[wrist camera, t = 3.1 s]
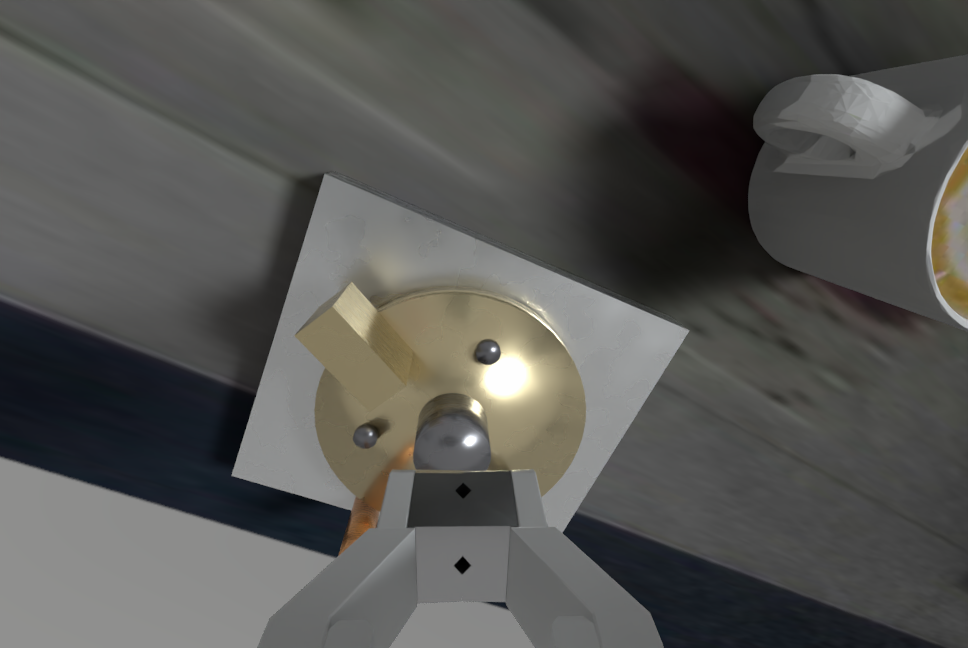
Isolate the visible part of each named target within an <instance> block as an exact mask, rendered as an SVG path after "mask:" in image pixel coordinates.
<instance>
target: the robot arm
mask: <svg viewBox="0 0 968 648" xmlns="http://www.w3.org/2000/svg"><path fill="white" fill-rule="evenodd" d="M457 601H458V602H459V601H469V602H471V601H472V602H506V605H507V607H508V608H509V610H510V611H511V613H512V614H513V616H514V617H515V619H516V620H517V622H518V623H519V625H520V626H521V627H522V629H523V630H524V632H525V634H526V635H527V636H528V638H529V639H530V641H531V642H532V644H533V645H534V647H535V648H664V646H663V644H662V641H661V639H660V636H659V634H658V632H657V629H656V627H655V624H654V622H653V619H652V617H651V614H650V613H649V612H648V611H647V610H646V609H645V608H644V607H643V606H642V605H641V604H640V603H638V602H637V601H636V600H635V599H634V598H633V597H632V596H631V595H630V594H629V593H627V592H626V591H625V590H624V589H623V588H622V587H621V586H620V585H619V584H618V583H616V582H615V581H614V580H613V579H612V578H611V577H610V576H609V575H608V574H607V573H605V572H604V571H603V570H602V569H601V568H600V567H599V566H598V565H597V564H596V563H594V562H593V561H592V560H591V559H590V558H589V557H588V556H587V555H586V554H585V553H583V552H582V551H581V550H580V549H579V548H578V547H577V546H576V545H575V544H574V543H572V542H571V541H570V540H569V539H568V538H567V537H566V536H565V535H564V534H563V533H561V532H560V531H559V530H558V529H557V528H556V527H548V524H547V520H546V515H545V511H544V507H543V502H542V498H541V494H540V489H539V485H538V480H537V476H536V472H535V471H534V470H533V469H519V470H510V471H461V470H391V472H390V474H389V477H388V481H387V486H386V490H385V494H384V499H383V503H382V507H381V512H380V516H379V520H378V525H377V528H369V529H368V530H367V531H366V532H365V533H364V534H362V535H361V536H360V537H359V538H358V539H357V540H356V541H355V542H354V543H353V544H351V545H350V546H349V547H348V548H347V549H346V550H345V551H344V552H343V553H341V554H340V555H339V556H338V557H337V558H336V559H335V560H334V561H333V562H332V563H330V564H329V565H328V566H327V567H326V568H325V569H324V570H323V571H322V572H320V573H319V574H318V575H317V576H316V577H315V578H314V579H313V580H312V581H311V582H309V583H308V584H307V585H306V586H305V587H304V588H303V589H302V590H301V591H299V592H298V593H297V594H296V595H295V596H294V597H293V598H292V599H291V600H290V601H288V602H287V603H286V604H285V605H284V606H283V607H282V608H281V609H280V610H278V611H277V612H276V613H275V614H274V615H273V616H272V617H271V618H270V619H269V621H268V624H267V626H266V628H265V630H264V633H263V635H262V638H261V640H260V643H259V645H258V647H257V648H389V647H390V646H391V644H392V643H393V641H394V640H395V638H396V637H397V635H398V634H399V632H400V631H401V629H402V628H403V627H404V625H405V624H406V622H407V621H408V619H409V618H410V616H411V614H412V613H413V612H414V610H415V609H416V607H417V603H437V602H457Z"/></svg>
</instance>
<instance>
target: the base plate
mask: <svg viewBox="0 0 968 648" xmlns="http://www.w3.org/2000/svg"><path fill="white" fill-rule="evenodd" d="M351 282H353V284H354V285H355V286H356V287H357V288H358V289H359V290H360V291H361V293H362V294H363V295H364V296H365V297H366V298H367V299H368V301H369V302H370V303H371V304H372V305H373V306H374V307H375V308H376V307H377V306H379V305H380V304H382V303H384V302H386V301H388V300H390V299H392V298H394V297H397V296H399V295H402V294H405V293H408V292H411V291H414V290H418V289H424V288H429V287H435V286H467V287H475V288H480V289H485V290H490V291H493V292H496V293H498V294H501V295H504V296H507V297H509V298H511V299H513V300H515V301H517V302H519V303H521V304H523V305H525V306H526V307H528V308H529V309H531V310H532V311H534V312H535V313H536V314H538V315H539V316H540V317H541V318H542V319H543V320H544V321H545V322H547V323H548V324H549V325H550V326H551V328H552V329H553V330H554V331H555V332H556V334H557V335H558V336H559V337H560V339H561V340H562V342H563V344H564V345H565V347H566V348H567V350H568V352H569V354H570V355H571V357H572V359H573V361H574V363H575V365H576V368H577V370H578V372H579V374H580V377H581V380H582V384H583V388H584V392H585V401H586V422H585V427H584V433H583V437H582V440H581V443H580V446H579V449H578V451H577V453H576V455H575V457H574V459H573V461H572V463H571V465H570V466H569V468H568V469H567V471H566V472H565V473H564V475H563V476H562V478H561V479H560V480H559V481H558V482H557V483H556V484H555V485H554V486H553V488H551V489H550V490H549V491H548V492H547V493H546V494H545V495H543V496H542V497H541V498H542V502H543V507H544V511H545V515H546V520H547V524H548V527H556V528H557V529H558V530H559V531H560V532H561V533H562V532H563V531H564V529H565V528H566V526H567V524H568V523H569V521H570V520H571V518H572V516H573V515H574V513H575V512H576V510H577V509H578V507H579V505H580V504H581V502H582V501H583V499H584V497H585V496H586V494H587V493H588V491H589V489H590V488H591V486H592V485H593V483H594V481H595V480H596V478H597V477H598V475H599V474H600V472H601V470H602V469H603V467H604V466H605V464H606V462H607V461H608V459H609V458H610V456H611V454H612V453H613V451H614V450H615V448H616V447H617V445H618V443H619V442H620V440H621V439H622V437H623V435H624V434H625V432H626V431H627V429H628V427H629V426H630V424H631V423H632V421H633V419H634V418H635V416H636V415H637V413H638V412H639V410H640V408H641V407H642V405H643V404H644V402H645V400H646V399H647V397H648V396H649V394H650V392H651V391H652V389H653V388H654V386H655V384H656V383H657V381H658V380H659V378H660V377H661V375H662V373H663V372H664V370H665V369H666V367H667V365H668V364H669V362H670V361H671V359H672V357H673V356H674V354H675V353H676V351H677V350H678V348H679V346H680V345H681V343H682V342H683V340H684V338H685V337H686V335H687V334H688V332H689V330H688V329H687V328H686V327H684V326H683V325H682V324H681V323H679V322H678V321H677V320H676V319H674V318H673V317H671V316H668V315H666V314H664V313H661V312H659V311H657V310H654V309H652V308H650V307H647V306H645V305H643V304H640V303H638V302H636V301H634V300H631V299H629V298H627V297H624V296H622V295H620V294H617V293H615V292H613V291H610V290H608V289H606V288H603V287H601V286H599V285H597V284H594V283H592V282H590V281H587V280H585V279H583V278H580V277H578V276H576V275H573V274H571V273H569V272H566V271H564V270H562V269H560V268H557V267H555V266H553V265H550V264H548V263H546V262H543V261H541V260H539V259H536V258H534V257H532V256H530V255H527V254H525V253H523V252H520V251H518V250H516V249H513V248H511V247H509V246H506V245H504V244H502V243H499V242H497V241H495V240H493V239H490V238H488V237H486V236H483V235H481V234H479V233H476V232H474V231H472V230H469V229H467V228H465V227H462V226H460V225H458V224H456V223H453V222H451V221H449V220H446V219H444V218H442V217H439V216H437V215H435V214H432V213H430V212H428V211H425V210H423V209H421V208H419V207H416V206H414V205H412V204H409V203H407V202H405V201H402V200H400V199H398V198H395V197H393V196H391V195H389V194H386V193H384V192H382V191H379V190H377V189H375V188H372V187H370V186H368V185H365V184H363V183H361V182H358V181H356V180H354V179H352V178H349V177H347V176H345V175H342V174H340V173H338V172H331V173H326V174H324V177H323V181H322V184H321V187H320V190H319V194H318V197H317V200H316V203H315V207H314V210H313V213H312V216H311V220H310V223H309V226H308V229H307V233H306V236H305V239H304V242H303V246H302V249H301V252H300V255H299V258H298V262H297V265H296V268H295V271H294V275H293V278H292V281H291V284H290V288H289V291H288V294H287V297H286V301H285V304H284V307H283V310H282V314H281V317H280V320H279V323H278V327H277V330H276V333H275V336H274V340H273V343H272V346H271V349H270V352H269V356H268V359H267V362H266V365H265V369H264V372H263V375H262V378H261V382H260V385H259V388H258V391H257V395H256V398H255V401H254V404H253V408H252V411H251V414H250V417H249V421H248V424H247V427H246V430H245V433H244V437H243V440H242V443H241V446H240V450H239V453H238V456H237V459H236V463H235V466H234V469H233V472H232V476H234V477H238V478H241V479H245V480H248V481H252V482H255V483H259V484H262V485H265V486H269V487H272V488H276V489H279V490H283V491H286V492H290V493H293V494H297V495H300V496H303V497H307V498H310V499H314V500H317V501H321V502H324V503H328V504H331V505H334V506H338V507H341V508H345V509H348V510H352V511H351V514H350V518H349V521H348V525H347V528H346V532H345V535H344V539H343V542H342V545H341V549H340V552H339V555H340V554H341V553H343V552H344V551H345V550H346V549H347V548H348V547H349V546H350V545H351V544H353V543H354V542H355V541H356V540H357V539H358V538H359V537H360V536H361V535H362V534H364V533H365V532H366V531H367V530H368V529H369V528H376V527H377V522H378V518H379V516H380V512H379V511H377V510H375V509H374V508H372V507H371V506H369V505H367V504H366V503H364V502H363V501H361V500H360V499H359V498H358V497H357V496H355V495H354V494H353V493H352V492H350V491H349V490H348V488H347V487H346V486H345V485H344V484H343V483H342V482H341V481H340V480H339V479H338V477H337V476H336V475H335V473H334V472H333V470H332V469H331V468H330V466H329V464H328V462H327V460H326V458H325V457H324V455H323V452H322V449H321V446H320V444H319V441H318V437H317V432H316V427H315V412H314V409H315V399H316V392H317V389H318V385H319V381H320V378H321V376H322V373H323V371H324V369H325V367H324V366H323V365H322V364H321V363H320V362H319V361H318V360H317V359H316V358H315V357H314V355H313V354H312V353H311V352H310V351H309V350H308V349H307V348H306V347H305V346H304V345H303V344H302V343H301V342H300V341H299V340H298V339H297V338H296V337H295V336H294V335H295V334H296V333H297V332H298V331H299V330H300V328H301V327H302V326H303V325H304V324H305V323H306V321H307V320H308V319H309V318H310V317H311V316H312V314H313V313H314V312H315V311H316V310H317V309H318V307H319V306H321V305H322V304H323V303H325V302H326V301H327V300H329V299H330V298H331V297H332V296H334V295H335V294H336V293H338V292H339V291H340V290H342V289H343V288H344V287H345V286H347V285H348V284H349V283H351Z"/></svg>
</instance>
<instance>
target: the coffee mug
mask: <svg viewBox="0 0 968 648" xmlns="http://www.w3.org/2000/svg"><path fill="white" fill-rule="evenodd" d="M753 128H754V130H755V131H756V133H757V134H758V136H759V137H761V138H762V139H763V140H764V141H765V143H764V144H763V146H762V148H761V150H760V152H759V154H758V157H757V159H756V162H755V165H754V168H753V171H752V174H751V178H750V182H749V191H748V211H749V216H750V222H751V226H752V229H753V231H754V233H755V235H756V237H757V239H758V242H759V243H760V244H761V246H762V247H763V248H764V249H765V250H766V251H767V252H768V254H769V255H770V256H771V257H772V258H774V259H775V260H777V261H778V262H780V263H781V264H783V265H786V266H788V267H790V268H793V269H796V270H798V271H801V272H804V273H807V274H810V275H812V276H815V277H818V278H821V279H823V280H826V281H829V282H832V283H835V284H837V285H840V286H843V287H846V288H848V289H851V290H854V291H857V292H860V293H862V294H865V295H868V296H871V297H873V298H876V299H879V300H882V301H884V302H887V303H890V304H893V305H896V306H898V307H901V308H904V309H907V310H909V311H912V312H915V313H918V314H921V315H923V316H926V317H929V318H932V319H934V320H937V321H940V322H943V323H945V324H948V325H951V326H954V327H957V328H959V329H962V330H965V331H968V55H962V56H957V57H951V58H946V59H940V60H935V61H929V62H924V63H918V64H913V65H907V66H901V67H896V68H890V69H885V70H879V71H874V72H868V73H863V74H857V75H852V76H843V75H838V74H815V75H808V76H802V77H796V78H792V79H790V80H787V81H785V82H783V83H780V84H778V85H776V86H775V87H774V88H773V89H771V90H770V91H769V92H768V93H767V94H766V96H765V97H764V98H763V100H762V101H761V103H760V104H759V106H758V108H757V110H756V112H755V114H754V116H753Z"/></svg>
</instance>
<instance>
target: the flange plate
mask: <svg viewBox="0 0 968 648" xmlns="http://www.w3.org/2000/svg"><path fill="white" fill-rule="evenodd" d="M294 336H295V337H296V338H297V339H298V340H299V341H300V342H301V343H302V344H303V345H304V346H305V347H306V348H307V349H308V350H309V351H310V352H311V353H312V354H313V355H314V357H315V358H316V359H317V360H318V361H319V362H320V363H321V364H322V365H323V366H324V367H325V369H324V371H323V373H322V376H321V378H320V381H319V385H318V389H317V392H316V399H315V409H314V412H315V427H316V432H317V437H318V441H319V444H320V446H321V449H322V452H323V455H324V457H325V458H326V460H327V462H328V464H329V466H330V468H331V469H332V470H333V472H334V473H335V475H336V476H337V477H338V479H339V480H340V481H341V482H342V483H343V484H344V485H345V486H346V487H347V488H348V490H349V491H350V492H352V493H353V494H354V495H355V496H357V497H358V498H359V499H360V500H361V501H363V502H364V503H366V504H367V505H369V506H371V507H372V508H374V509H375V510H377V511H379V512H381V507H382V503H383V499H384V494H385V490H386V486H387V481H388V477H389V474H390V472H391V470H461V471H510V470H519V469H533V470H534V471H535V472H536V476H537V480H538V485H539V489H540V494H541V497H542V496H543V495H545V494H546V493H547V492H548V491H549V490H550V489H551V488H553V486H554V485H555V484H556V483H557V482H558V481H559V480H560V479H561V478H562V476H563V475H564V473H565V472H566V471H567V469H568V468H569V466H570V465H571V463H572V461H573V459H574V457H575V455H576V453H577V451H578V449H579V446H580V443H581V440H582V437H583V433H584V427H585V422H586V401H585V392H584V388H583V384H582V380H581V377H580V374H579V372H578V370H577V368H576V365H575V363H574V361H573V359H572V357H571V355H570V354H569V352H568V350H567V348H566V347H565V345H564V344H563V342H562V340H561V339H560V337H559V336H558V335H557V334H556V332H555V331H554V330H553V329H552V328H551V326H550V325H549V324H548V323H547V322H545V321H544V320H543V319H542V318H541V317H540V316H539V315H538V314H536V313H535V312H534V311H532V310H531V309H529V308H528V307H526V306H525V305H523V304H521V303H519V302H517V301H515V300H513V299H511V298H509V297H507V296H504V295H501V294H498V293H496V292H493V291H490V290H485V289H480V288H475V287H467V286H435V287H429V288H424V289H418V290H414V291H411V292H408V293H405V294H402V295H399V296H397V297H394V298H392V299H390V300H388V301H386V302H384V303H382V304H380V305H379V306H377V307H376V308H375V307H374V306H373V305H372V304H371V303H370V302H369V301H368V299H367V298H366V297H365V296H364V295H363V294H362V293H361V291H360V290H359V289H358V288H357V287H356V286H355V285H354V284H353V282H351V283H349V284H348V285H347V286H345V287H344V288H343V289H342V290H340V291H339V292H338V293H336V294H335V295H334V296H332V297H331V298H330V299H329V300H327V301H326V302H325V303H323V304H322V305H321V306H319V307H318V309H317V310H316V311H315V312H314V313H313V314H312V316H311V317H310V318H309V319H308V320H307V321H306V323H305V324H304V325H303V326H302V327H301V328H300V330H299V331H298V332H297V333H296V334H295V335H294Z"/></svg>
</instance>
